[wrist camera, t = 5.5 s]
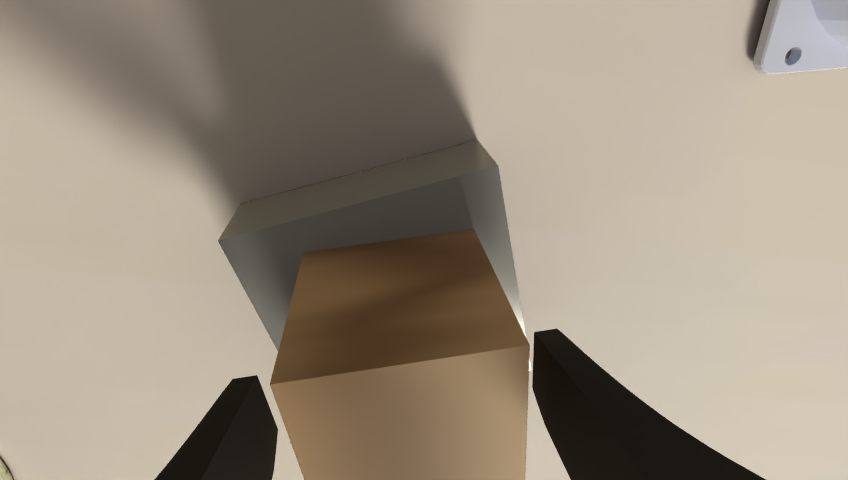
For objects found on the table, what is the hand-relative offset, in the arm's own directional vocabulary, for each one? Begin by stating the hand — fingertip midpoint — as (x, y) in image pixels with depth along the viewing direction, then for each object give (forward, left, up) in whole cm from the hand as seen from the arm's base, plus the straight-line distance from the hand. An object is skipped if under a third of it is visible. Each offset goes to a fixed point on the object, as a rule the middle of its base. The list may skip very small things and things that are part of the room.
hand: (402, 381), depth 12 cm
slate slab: (0, 0, -6) cm, 6 cm away
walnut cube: (0, 0, -3) cm, 3 cm away
